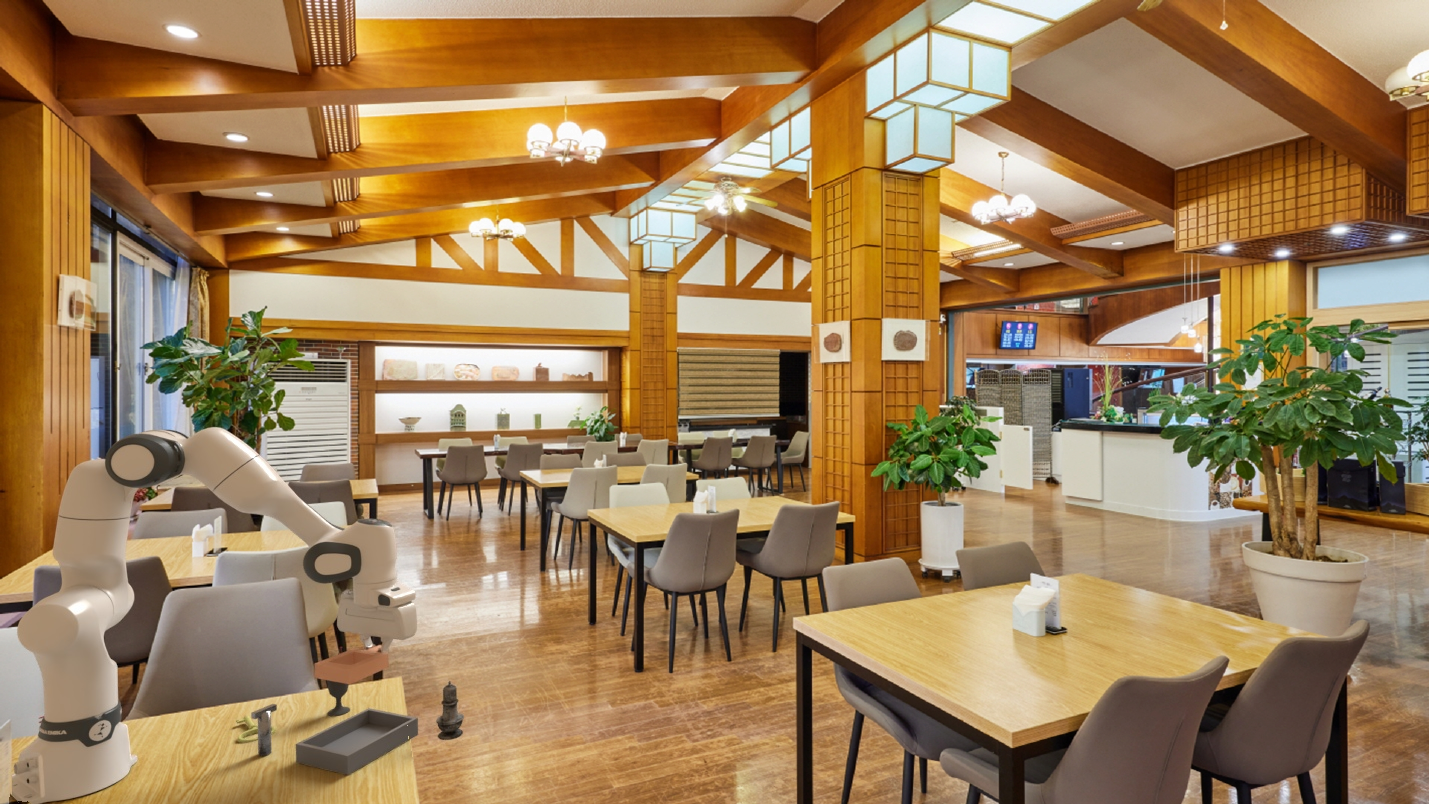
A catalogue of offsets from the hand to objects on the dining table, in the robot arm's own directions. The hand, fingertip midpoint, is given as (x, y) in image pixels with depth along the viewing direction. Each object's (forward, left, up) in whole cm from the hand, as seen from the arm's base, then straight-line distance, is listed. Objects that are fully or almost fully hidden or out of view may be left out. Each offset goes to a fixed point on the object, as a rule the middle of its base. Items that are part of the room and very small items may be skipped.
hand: (376, 654), depth 162 cm
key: (-30, -8, -19) cm, 36 cm away
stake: (-17, -14, -18) cm, 29 cm away
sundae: (-20, +7, -19) cm, 28 cm away
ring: (0, -5, -2) cm, 5 cm away
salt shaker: (+14, +7, -19) cm, 24 cm away
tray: (0, -5, -18) cm, 19 cm away
